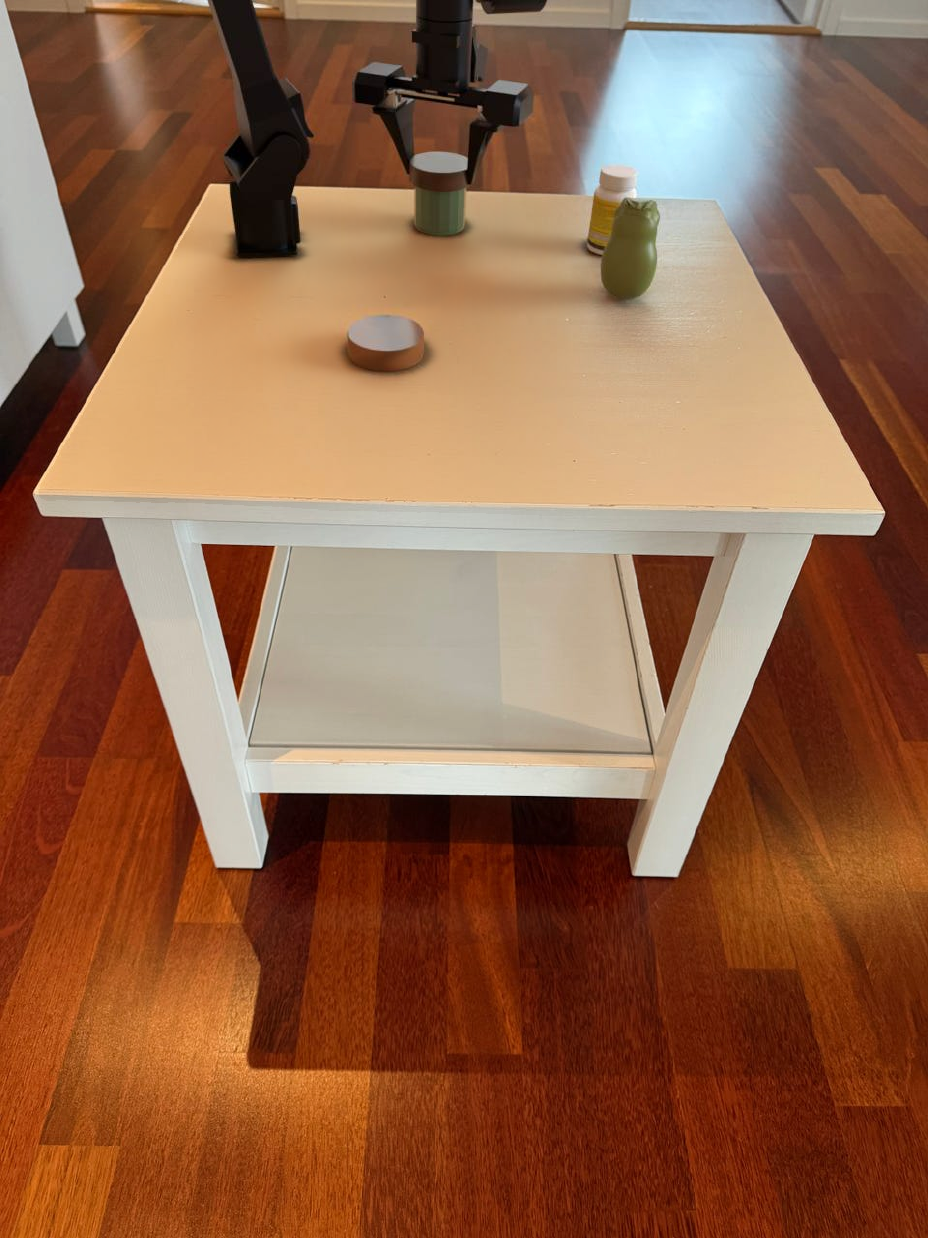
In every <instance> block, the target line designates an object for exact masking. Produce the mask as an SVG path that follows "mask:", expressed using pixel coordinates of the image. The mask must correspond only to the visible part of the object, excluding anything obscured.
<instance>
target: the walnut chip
mask: <svg viewBox="0 0 928 1238" xmlns="http://www.w3.org/2000/svg"><path fill="white" fill-rule="evenodd" d="M467 162H468V156H465V155H462V154H459V153H455V152H451V151H450V152H449V151H426V152H421V153H418V154H414V156H413V157H412V158H411V159H410V161H409V175H408V177H409V178H408V180H409V182H410V184H411V185H412V186H413V187H414V186H416V187H418V188H421V189H424V190H428V191H435V192H451V191H458V190H462V189H464V188H466V189H467V188H468V187H469V186H470V185H468V180H467Z"/></svg>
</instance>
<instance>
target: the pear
mask: <svg viewBox="0 0 928 1238" xmlns="http://www.w3.org/2000/svg"><path fill="white" fill-rule="evenodd" d="M660 219H661V214H660V211H659V210H658V204H657V201H655V200H654V199H653V200H652V199H643V198H642V199H641V198H637V199H636V198H635V199H634V198H628V197H625V198H624V199H623V201H622V202H621V204H620V205H619V206H618V207H617V208H616V210H615V212H614V221H613V225H612V230H611V236H610V239H609V241H608V243H607V244H606V246H605V248H604V251H603V254H602V255H601V259H600V279H601V284H602V286H603V288H604V290H605V292H607V293H608V294H609V295H611V296H612V297H614V298H616V299H619V300H624V301H625V300H627V301H628V300H634V299H636V298H639V297H640V296H642V295H643V294H645V293H646V292H647V290H648V289H649V287H650V286H651V285H652V282H653V280H654V277H655V274H656V271H657V265H658V251H657V245H656V242H657V236H658V226H659V223H660V222H661V221H660Z"/></svg>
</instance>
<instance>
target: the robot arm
mask: <svg viewBox="0 0 928 1238" xmlns="http://www.w3.org/2000/svg"><path fill="white" fill-rule="evenodd" d="M206 1H207V4H208V7H209V9H210V13H211V16H212V19H213V22H214V24H215V27H216V31H217V34H218V37H219V39H220V42H221V45H222V48H223V51H224V54H225V58H226V60H227V63H228V67H229V69H230V72H231V77H232V82H233V83H232V85H233V98H234V107H235V113H236V118H237V125H238V130H239V132H238V134H237V135H236V136H235V138H234V139H233V140H232V142H231V143H230V144H229V145H228V147H227V149H225V151H224V152H223V154H222V155H221V159H222V162H223V164H224V165H225V168H226V170H227V172H228V174H229V176H231V177H232V179H233V180H234V181H229V197H230V205H231V213H232V221H233V229H234V236H235V237H234V240H235V242H234V243H235V256H236V257H237V258H258V257H259V258H261V257H285V256H286V257H287V256H288V257H289V256H290V257H291V256H297V255H298V252H299V251H298V246H297V245H298V244H300V243H301V242H302V241H301V240H302V239H301V228H300V217H299V206H298V199H297V197H296V196H295V195H293V193H294V189H295V185H296V182H297V177H298V175H299V174H300V173H301V172H302V171H303V170H304V169H305V167H306V165H307V163H308V161H309V160H310V158H311V157H310V156H311V147H310V141H309V139H308V138H311V139H313V138H314V137H315V134H314V133H313V132H312V130H311V129H310V128H309V125H308V123H307V121H306V117H305V109H304V108H305V107H304V101H303V97H302V94H301V93H300V91H299V90H298V89H297V88H296V87H295V86H294V85H293V83H291V82H290V81H289V79H288V78H287V77H283V78H281V79H278V76H276V73H275V71H274V67H273V65H272V61H271V58H270V54H269V51H268V48H267V45H266V41H265V38H264V34H263V32H262V29H261V25H260V22H259V18H258V15H257V12H256V8H255V5H254V2H253V0H206ZM474 1H475V2H476V3H478V4H480V6H481V9H482V11H483V12H484V13H485V14H487V15H503V14H505V15H506V14H527V13H540V12H542V10H544V8H545V7H546V5H547V3H548V0H415V28H414V29H412V30H411V43H414V44H415V74H413V76H411V77H407V76H406V75H407V74H406V71H405V69H404V66H403V65H398V64H391V63H383V62H379V61H377V62H376V61H373V62H371V63H370V64H368V65H366V66H365V67H363V68H361V69H359V70H358V71H356V73H355V74H354V75H353V77H352V81H351V99H352V102H354V103H356V104H361V105H368V106H372V107H371V112H372V114H374V115H376V116H379V117H380V120H381V121H382V123H383V125H384V126H385V128H386V130H387V133H388V134H389V136H390V137H391V139H392V142H393V144H394V146H395V149H396V151H397V154H398V156H399V158H400V160H401V163H402V165H403V168H404V170H405V172H406V174H407V175H408V176H409V161H410V159H411V158H412V157H413V156H415V143H414V141H415V140H414V121H413V117H414V113H415V112H414V111H415V105H416V101H417V100H418V101H425V102H431V103H438V104H444V105H450V106H451V105H452V106H457V107H465V108H469V109H471V108H472V109H476V113H477V117H476V118H475V119H474V120H473V121H472V122H470V123H469V131H468V132H469V133H468V147H467V158H468V162H467V180H468V185H469V186H472V185H473V184H474V183H475V180H476V178H477V175H478V172H479V169H480V167H481V164H482V161H483V160H484V157H485V153H486V151H487V148H488V146H489V143H490V141H491V139H492V138H493V135H494V134H495V133H498V132H499V131H500V130H501V129H502V128H503V127H511V128H514V127H520V126H521V125H522V124H523V123H524V122H525V121H526V120H527V119H528V118H529V117H530V116H531V115H532V114H533V110H534V100H535V95H534V90H533V89H532V87H531V85H530V84H529V83H523V82H518V81H517V82H516V81H510V80H504V79H503V80H502V79H498V80H496V81H495V82H494V83H493V84H491V85H490V86H489V87H488V88H482V87H475V86H471V84H472V83H473V84H475V83H477V82H480V83H483V82H484V81H485V76H486V69H487V60H488V55H489V49H488V48H487V47H486V46H484V44H482V43H480V42H477V29H476V24H473V21H474V20H473V19H474V17H473V16H474Z"/></svg>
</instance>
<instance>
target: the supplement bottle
mask: <svg viewBox="0 0 928 1238" xmlns="http://www.w3.org/2000/svg"><path fill="white" fill-rule="evenodd" d="M638 175H639V172H638V170H637V169H635V168H634V167H632V166H628V165H625V164H624V165H623V164H608V165H604V166H601V168H600V171H599V180H598V183H599V184H598V185H597V186H596V187H595V189H594V191H593V198H592V206H591V214H590V221H589V227H588V233H587V241H586V246H587V249H588V250H589V251H591V252H592V253H593V254H597V255H600V256H602V254H603V251H604V248H605V246H606V244H607V243H608V241H609V239H610V236H611V230H612V225H613V221H614V212H615V210H616V208H617V207H618V206H619V205H620V204H621V202H622V201H623V199H624V198H625V197H628V198H634V199H635V198H636V199H638V193H637V192H638V191H637V190H636V187H637V184H638Z"/></svg>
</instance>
